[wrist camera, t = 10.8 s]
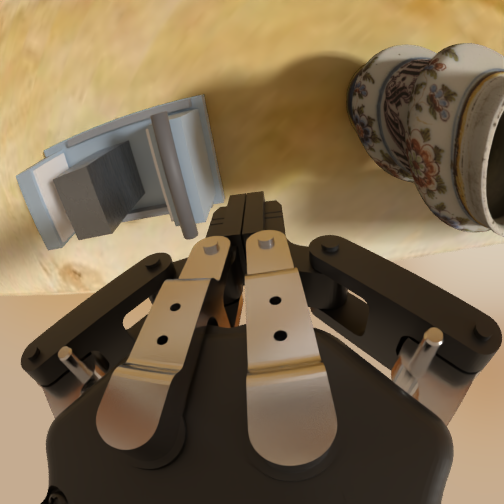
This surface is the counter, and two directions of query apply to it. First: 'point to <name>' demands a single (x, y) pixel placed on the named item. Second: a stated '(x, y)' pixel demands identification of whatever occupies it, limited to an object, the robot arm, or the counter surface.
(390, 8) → the counter surface
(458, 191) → the apothecary jar
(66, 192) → the block
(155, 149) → the free jaw
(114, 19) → the counter surface
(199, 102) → the vise base
